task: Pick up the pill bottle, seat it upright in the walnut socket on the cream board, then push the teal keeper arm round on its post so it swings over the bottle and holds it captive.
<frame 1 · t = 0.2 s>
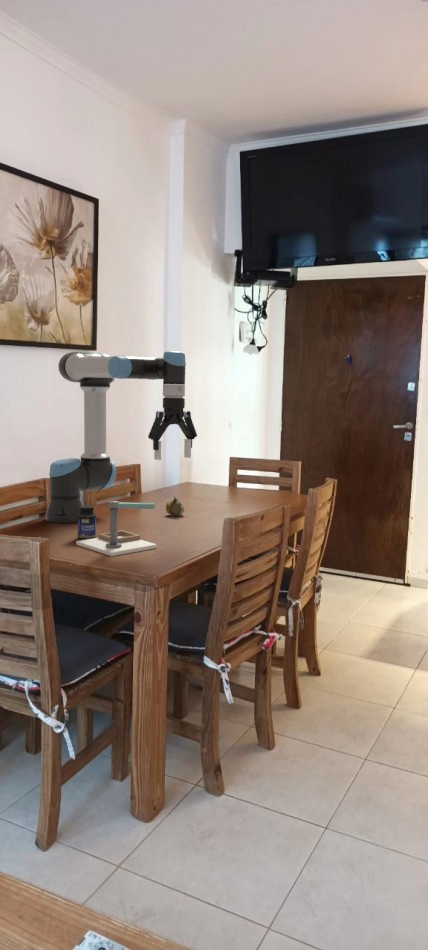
hand: (172, 458, 245), 28 cm above the table, fingers open, 13 cm apart
base board: (116, 546, 232), on the table
onion: (175, 516, 289), on the table
keeper arm: (131, 505, 225), point 15 cm above the table, hinge at 0.0°
pill bottle: (86, 538, 243), on the table
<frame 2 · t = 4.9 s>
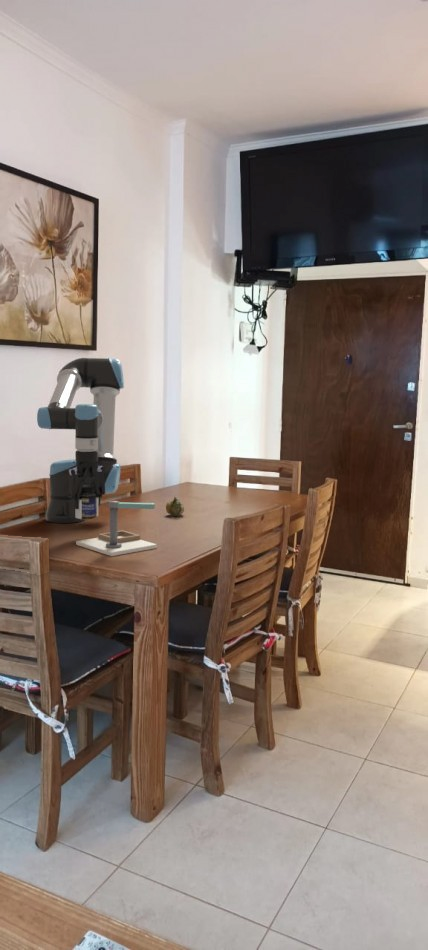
hand: (87, 516, 243), 7 cm above the table, fingers closed on pill bottle, 6 cm apart
pill bottle: (86, 518, 243), point 7 cm above the table, touching gripper
everything else where it was.
when the fingers open (4 cm above the table, at t = 9.0 s): pill bottle drops 2 cm, resting on base board.
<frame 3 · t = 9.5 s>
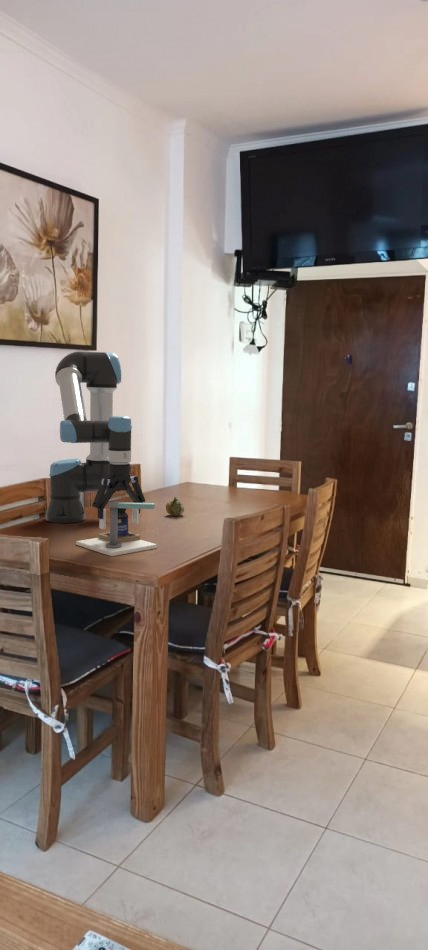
hand: (119, 526, 237), 6 cm above the table, fingers open, 13 cm apart
pill bottle: (119, 538, 238), point 1 cm above the table, touching base board
everything else where it was.
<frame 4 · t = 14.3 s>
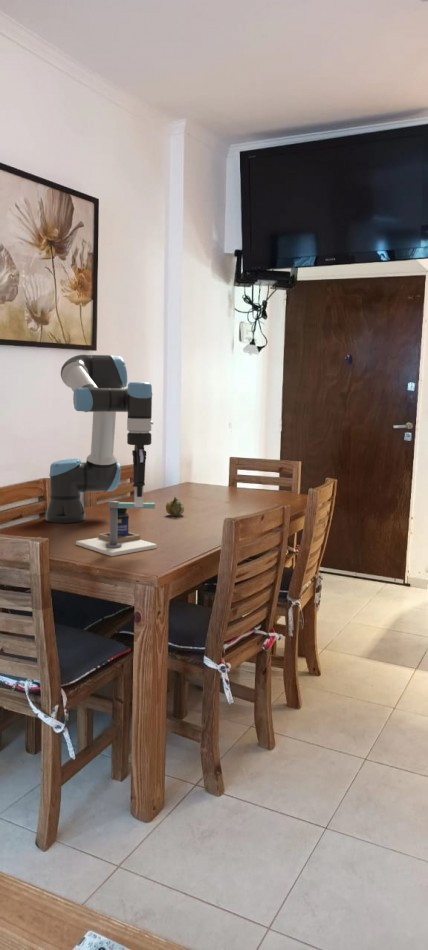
hand: (138, 506, 223), 15 cm above the table, fingers closed
keeper arm: (131, 504, 225), point 15 cm above the table, hinge at 3.7°, touching gripper
everything else where it was.
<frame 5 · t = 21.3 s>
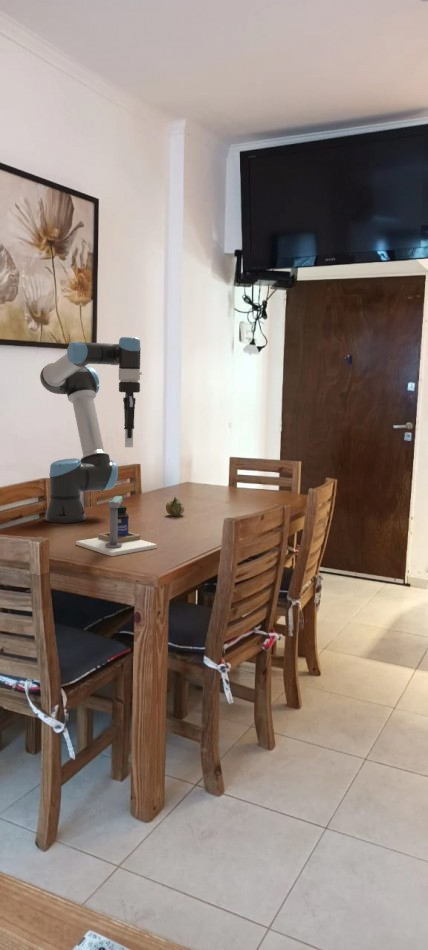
hand: (129, 447, 255), 30 cm above the table, fingers closed
keeper arm: (116, 501, 230), point 15 cm above the table, hinge at 92.2°
everything else where it was.
at the end: pill bottle inside the target area (0.4 cm from its centre), point 1.0 cm above the table; pill bottle tilted 0°; keeper arm at +92° (first picture: +0°) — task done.
